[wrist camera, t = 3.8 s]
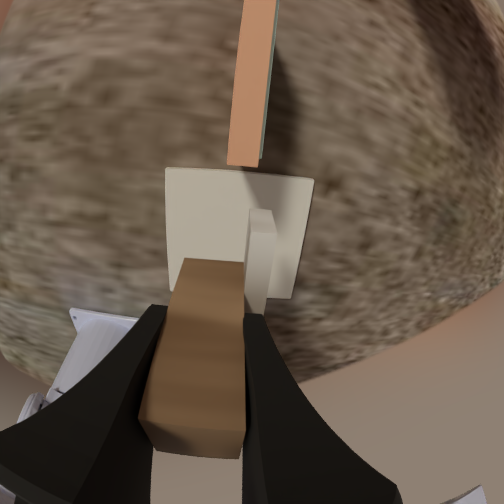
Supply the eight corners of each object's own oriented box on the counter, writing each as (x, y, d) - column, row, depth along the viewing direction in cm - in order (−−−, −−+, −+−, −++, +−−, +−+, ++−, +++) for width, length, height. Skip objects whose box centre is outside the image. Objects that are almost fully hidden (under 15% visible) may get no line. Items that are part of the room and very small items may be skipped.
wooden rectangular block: (251, 342, 13) (256, 475, 7) (188, 337, 13) (167, 468, 7) (271, 210, 10) (309, 374, 4) (184, 203, 10) (108, 356, 4)
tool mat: (289, 294, 21) (290, 298, 20) (171, 286, 20) (170, 290, 20) (312, 178, 17) (314, 180, 16) (167, 167, 16) (165, 168, 15)
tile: (254, 147, 16) (261, 167, 10) (232, 145, 16) (227, 164, 10) (268, 25, 12) (281, -15, 7) (245, 23, 12) (247, -18, 6)
